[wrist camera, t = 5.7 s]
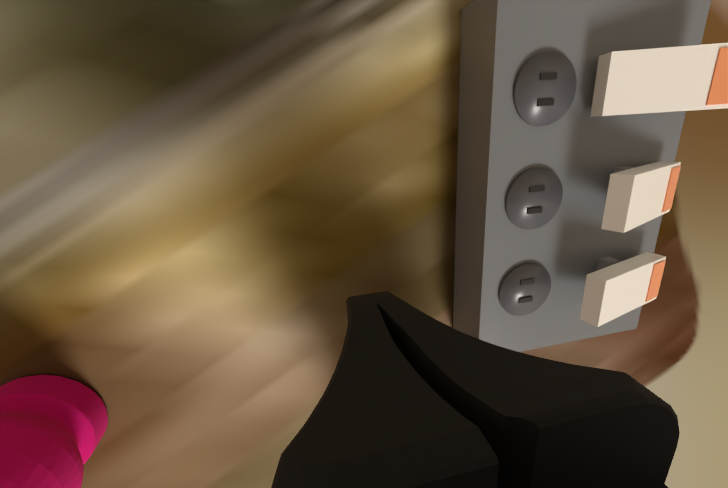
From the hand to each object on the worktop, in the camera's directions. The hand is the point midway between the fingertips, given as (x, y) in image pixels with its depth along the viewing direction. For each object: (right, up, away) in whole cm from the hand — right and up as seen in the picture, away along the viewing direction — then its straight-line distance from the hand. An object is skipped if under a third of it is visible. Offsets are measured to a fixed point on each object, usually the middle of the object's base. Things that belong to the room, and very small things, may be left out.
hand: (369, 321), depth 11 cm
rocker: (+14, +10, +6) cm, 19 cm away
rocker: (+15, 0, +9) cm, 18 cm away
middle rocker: (+15, +5, +7) cm, 17 cm away
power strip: (+12, +6, +12) cm, 18 cm away
